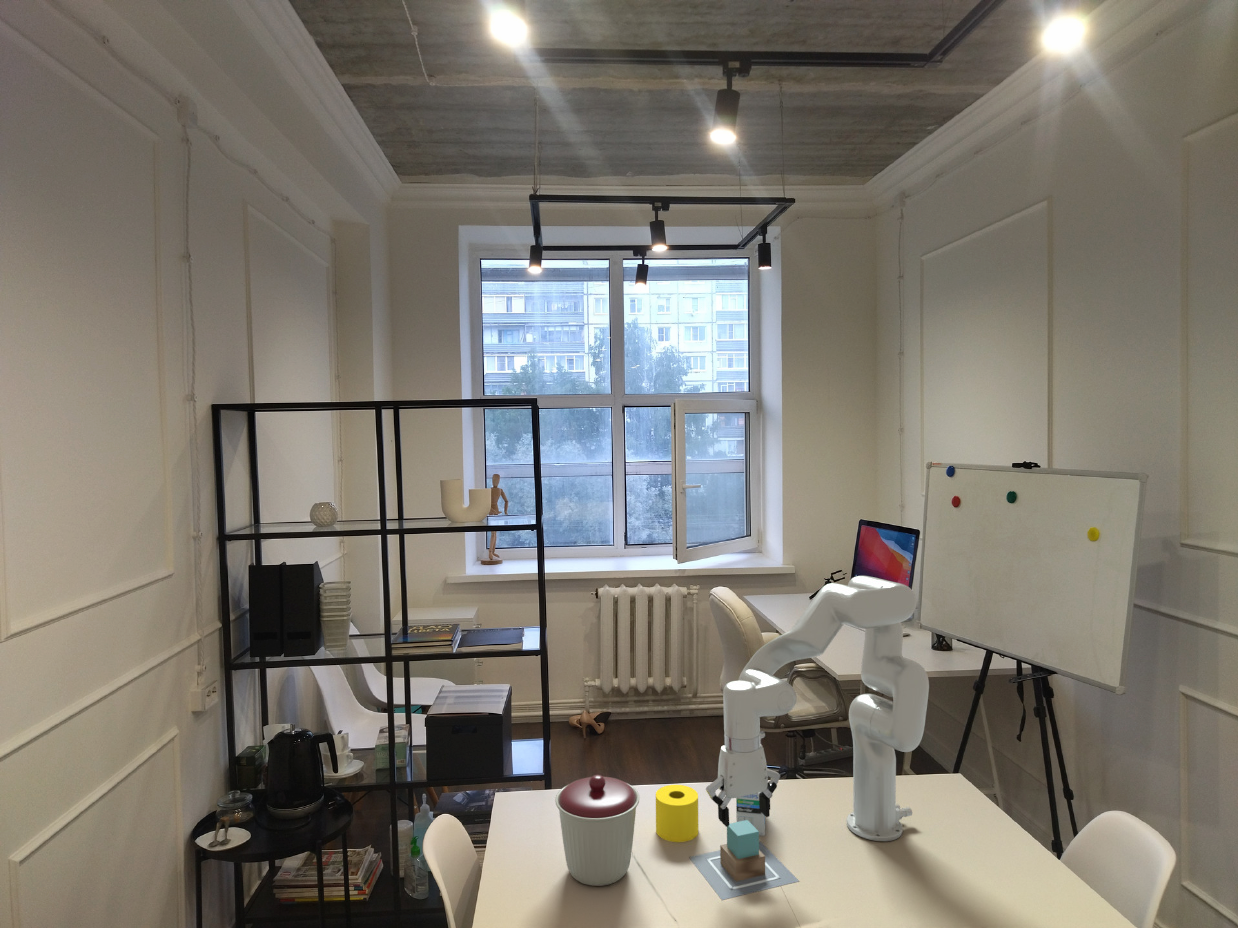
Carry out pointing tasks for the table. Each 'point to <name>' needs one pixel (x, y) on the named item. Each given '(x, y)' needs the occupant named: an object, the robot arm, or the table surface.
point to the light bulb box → (750, 811)
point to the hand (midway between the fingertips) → (744, 818)
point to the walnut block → (742, 864)
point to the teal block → (743, 839)
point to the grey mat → (730, 888)
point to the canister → (597, 828)
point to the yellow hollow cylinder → (677, 813)
